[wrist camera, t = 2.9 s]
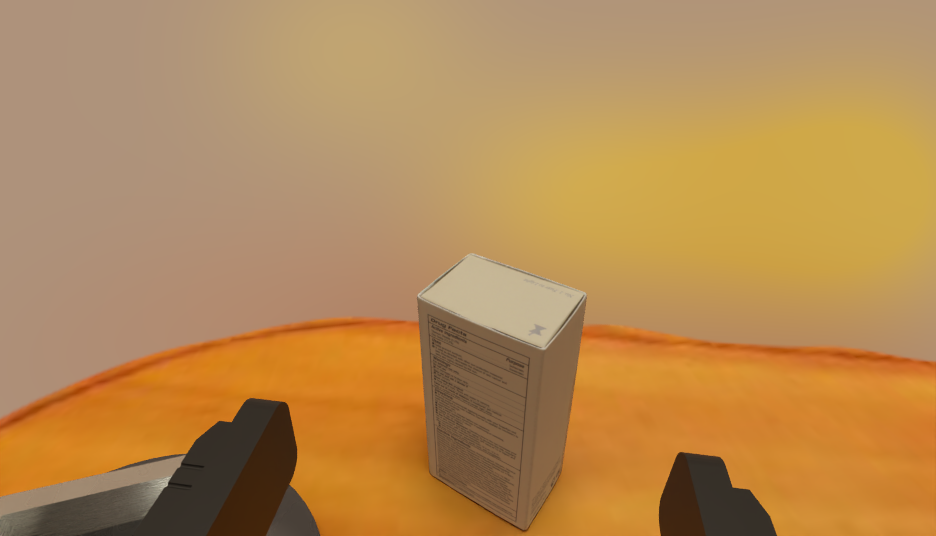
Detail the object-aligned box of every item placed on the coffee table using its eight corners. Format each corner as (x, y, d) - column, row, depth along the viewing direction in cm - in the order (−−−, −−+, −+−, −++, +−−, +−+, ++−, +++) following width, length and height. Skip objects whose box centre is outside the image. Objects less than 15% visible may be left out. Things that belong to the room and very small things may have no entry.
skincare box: (563, 472, 30) (596, 293, 23) (523, 538, 27) (549, 352, 20) (466, 421, 33) (472, 247, 26) (421, 474, 30) (413, 293, 23)
